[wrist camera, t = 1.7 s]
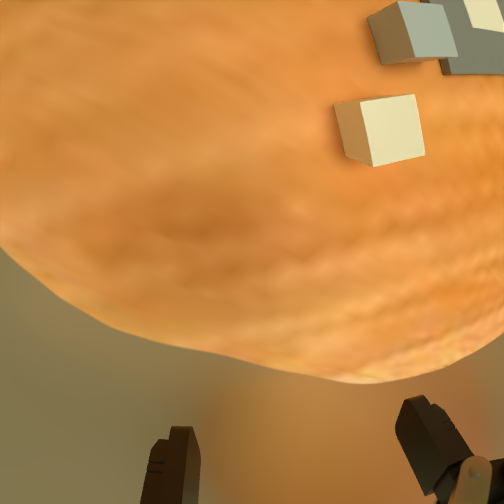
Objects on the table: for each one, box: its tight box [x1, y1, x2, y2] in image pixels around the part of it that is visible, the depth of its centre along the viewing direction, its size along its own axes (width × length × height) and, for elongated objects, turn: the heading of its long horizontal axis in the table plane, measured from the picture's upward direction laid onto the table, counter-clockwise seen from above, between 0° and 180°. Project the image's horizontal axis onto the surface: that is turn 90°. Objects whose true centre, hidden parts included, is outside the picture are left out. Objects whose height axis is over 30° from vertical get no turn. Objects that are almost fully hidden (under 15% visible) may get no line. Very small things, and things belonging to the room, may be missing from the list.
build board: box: [420, 0, 504, 75], centre depth 19 cm, size 18×18×2 cm
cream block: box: [333, 94, 425, 167], centre depth 23 cm, size 5×5×6 cm
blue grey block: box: [367, 1, 458, 65], centre depth 20 cm, size 5×5×6 cm
